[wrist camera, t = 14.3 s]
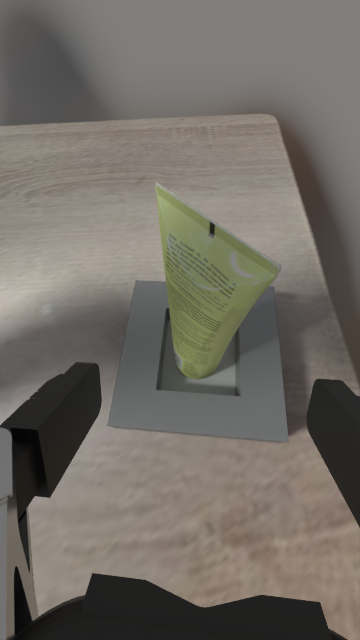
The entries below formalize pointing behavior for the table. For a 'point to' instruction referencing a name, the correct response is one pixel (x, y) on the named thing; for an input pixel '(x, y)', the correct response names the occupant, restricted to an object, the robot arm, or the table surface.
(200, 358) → the tube
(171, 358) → the holder
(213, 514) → the table surface
